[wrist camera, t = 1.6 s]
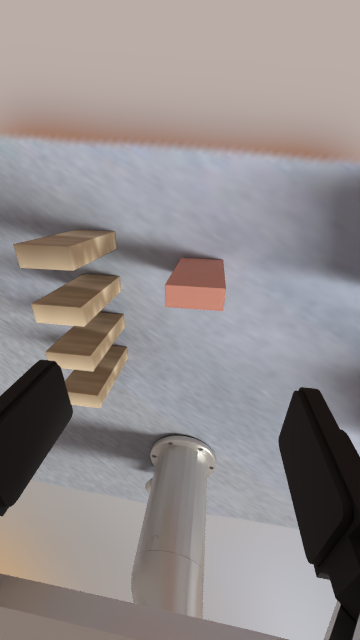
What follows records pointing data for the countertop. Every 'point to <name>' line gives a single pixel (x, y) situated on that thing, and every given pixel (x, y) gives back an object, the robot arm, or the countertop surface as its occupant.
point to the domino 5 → (196, 285)
